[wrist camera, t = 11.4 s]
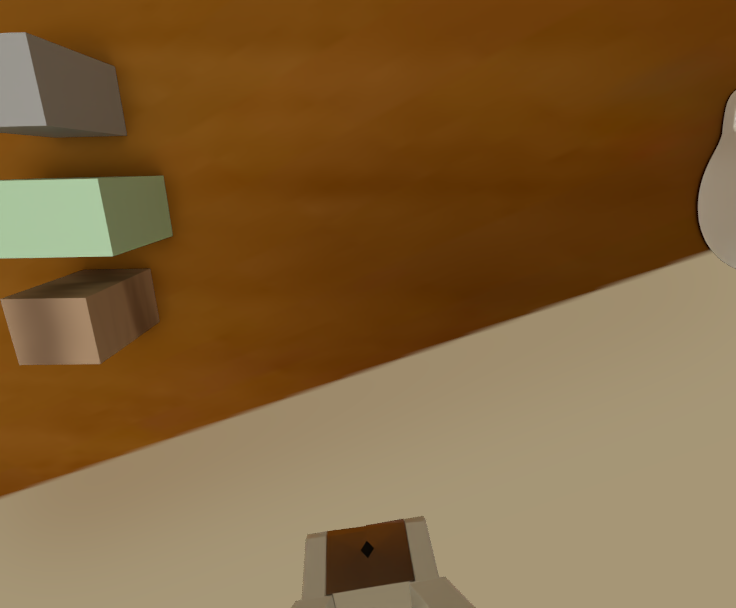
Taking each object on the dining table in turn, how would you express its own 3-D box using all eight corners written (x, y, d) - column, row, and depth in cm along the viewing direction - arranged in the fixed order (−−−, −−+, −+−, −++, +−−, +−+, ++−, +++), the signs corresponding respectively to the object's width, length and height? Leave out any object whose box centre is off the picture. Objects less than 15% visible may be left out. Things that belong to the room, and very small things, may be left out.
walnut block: (150, 268, 38) (85, 297, 30) (159, 321, 40) (100, 364, 31) (83, 269, 39) (0, 299, 30) (95, 322, 40) (19, 364, 32)
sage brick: (163, 175, 36) (97, 178, 27) (173, 235, 38) (113, 256, 29) (45, 178, 36) (-57, 182, 28) (59, 237, 38) (-33, 258, 29)
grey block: (114, 66, 34) (25, 32, 25) (127, 135, 35) (46, 125, 27) (38, 69, 34) (-76, 35, 25) (54, 137, 35) (-49, 128, 27)
